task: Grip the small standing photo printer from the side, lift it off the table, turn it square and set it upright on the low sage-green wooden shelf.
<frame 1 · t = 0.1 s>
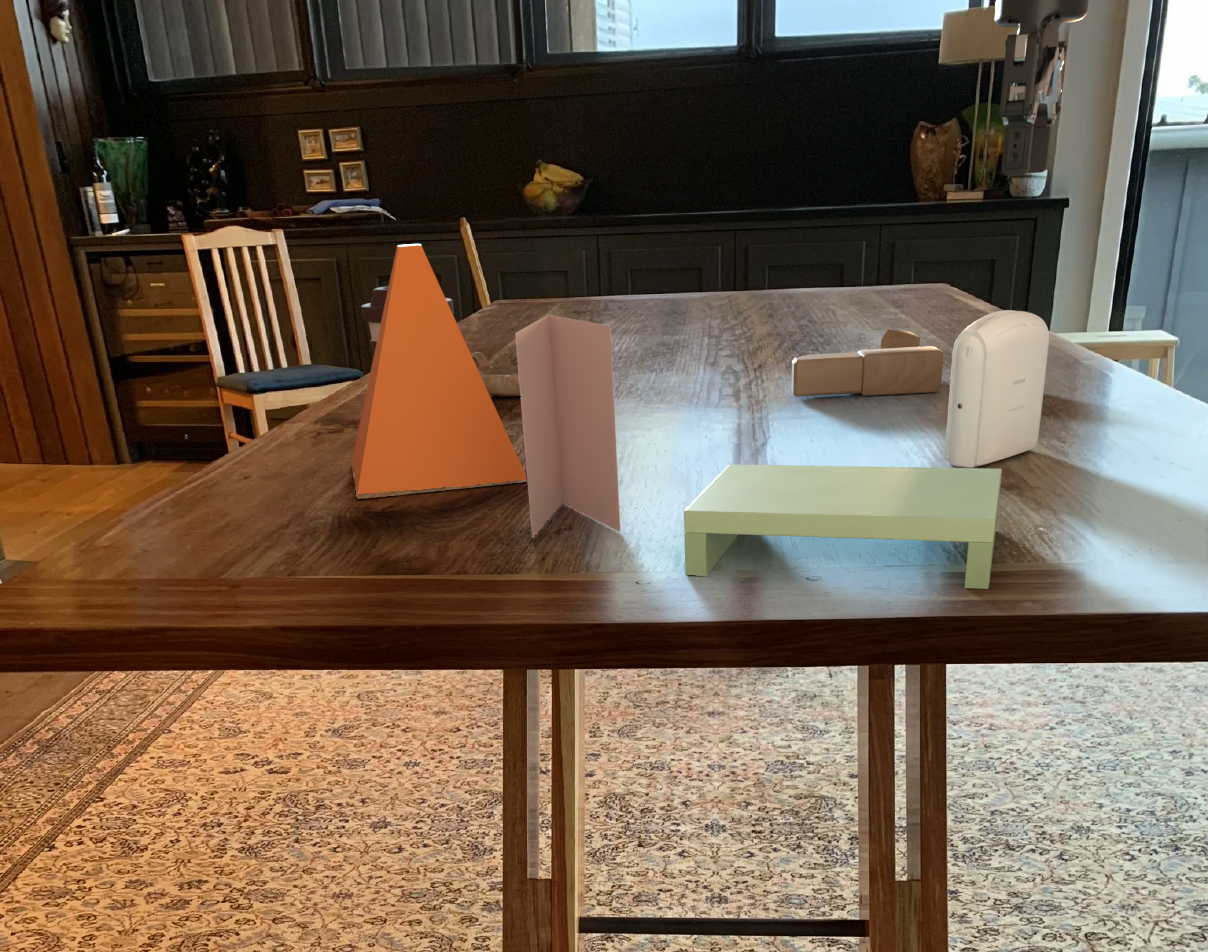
hand: (1024, 173, 108), 23 cm above the table, tool pointing down, fingers open, 8 cm apart
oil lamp: (505, 396, 154), on the table
greeting card: (582, 522, 97), on the table
photo printer: (990, 459, 109), on the table
shelf: (845, 552, 85), on the table
coffee cup: (422, 431, 136), on the table
pyramid: (436, 475, 115), on the table
mineral rock: (995, 396, 136), on the table
wooden block set: (858, 386, 147), on the table
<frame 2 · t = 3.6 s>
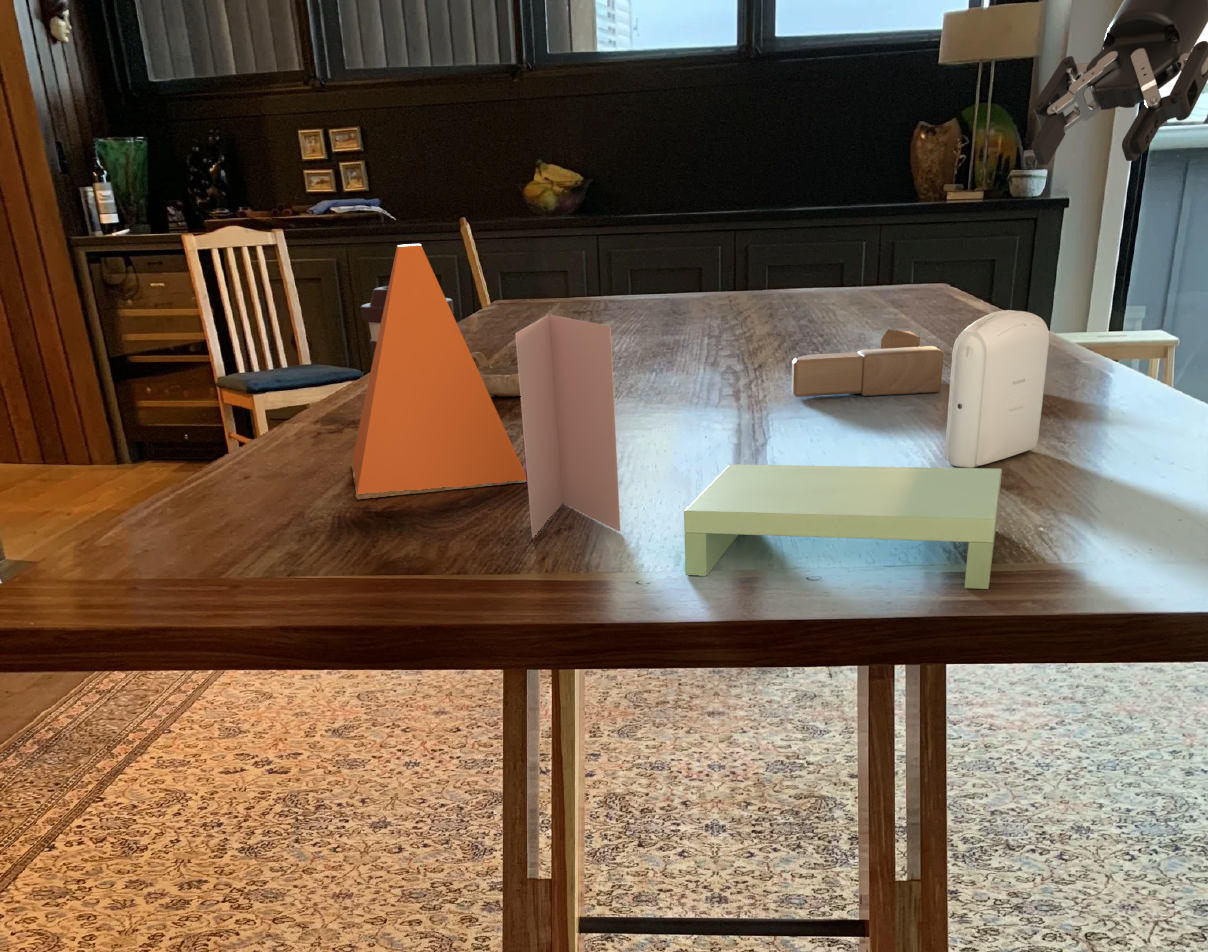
hand: (1082, 155, 107), 24 cm above the table, tool tilted 45°, fingers open, 8 cm apart
nothing on the table moved.
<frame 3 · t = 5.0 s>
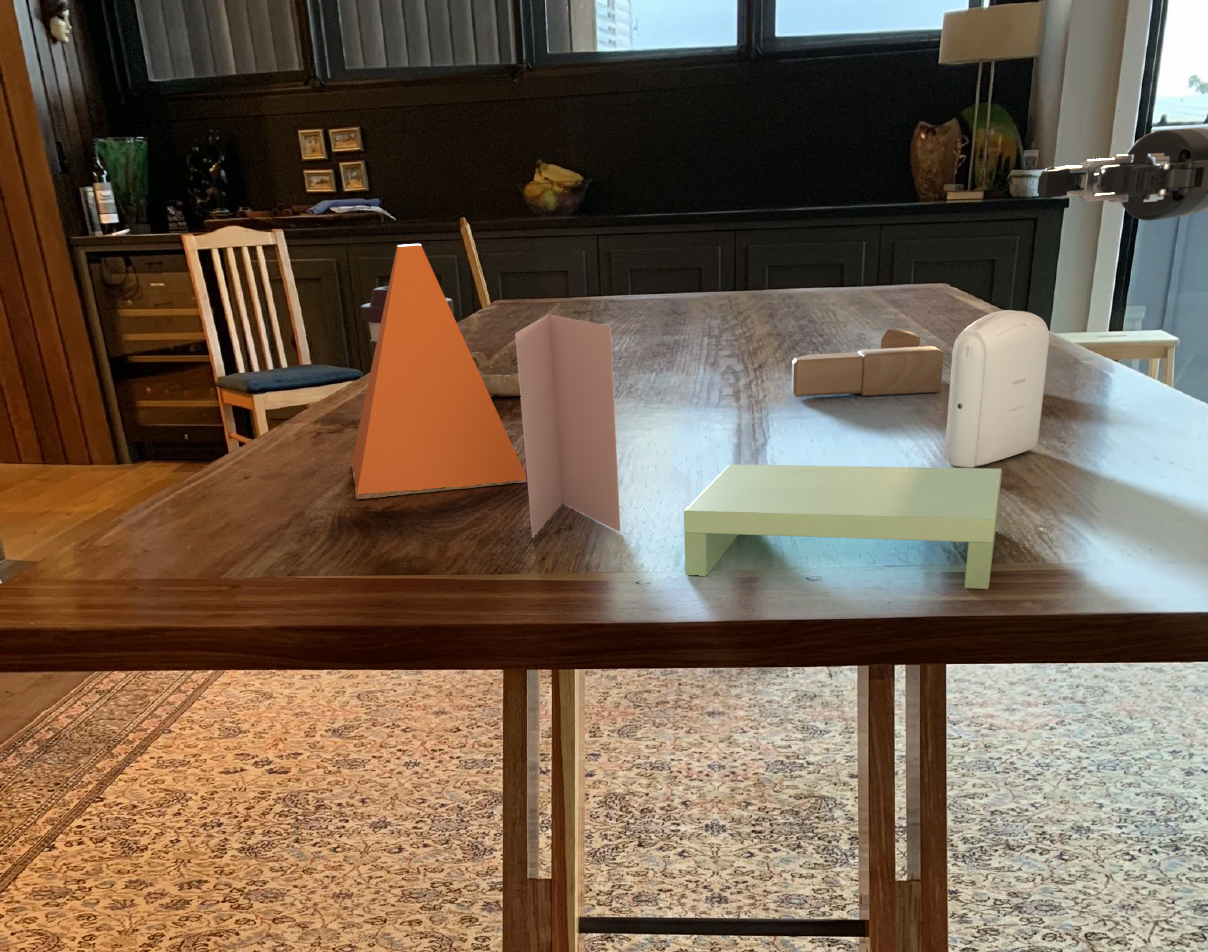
hand: (1085, 183, 105), 22 cm above the table, tool horizontal, fingers open, 8 cm apart
nothing on the table moved.
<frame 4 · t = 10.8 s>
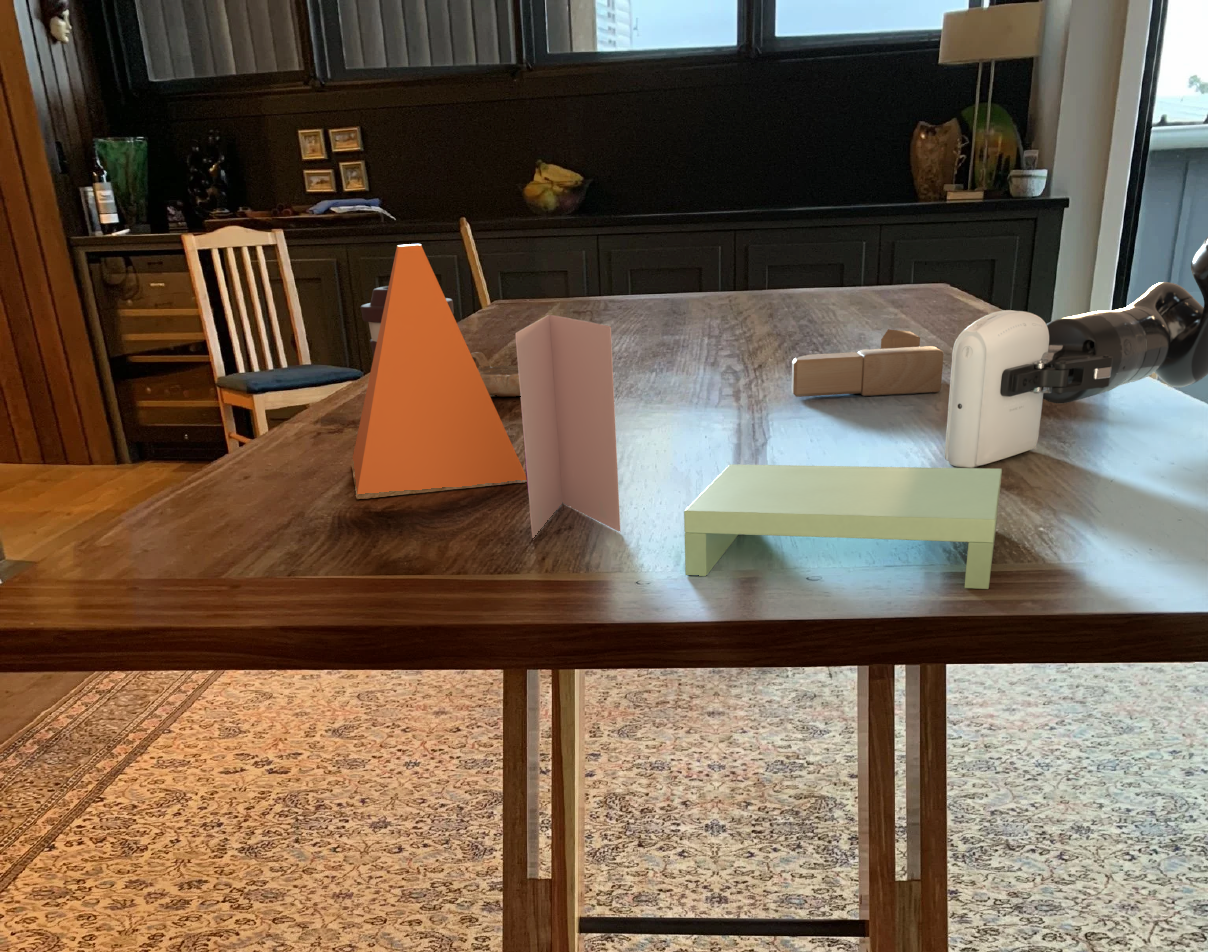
hand: (980, 381, 104), 7 cm above the table, tool horizontal, fingers closed on photo printer, 4 cm apart
photo printer: (990, 459, 109), on the table, touching gripper
everything else where it was.
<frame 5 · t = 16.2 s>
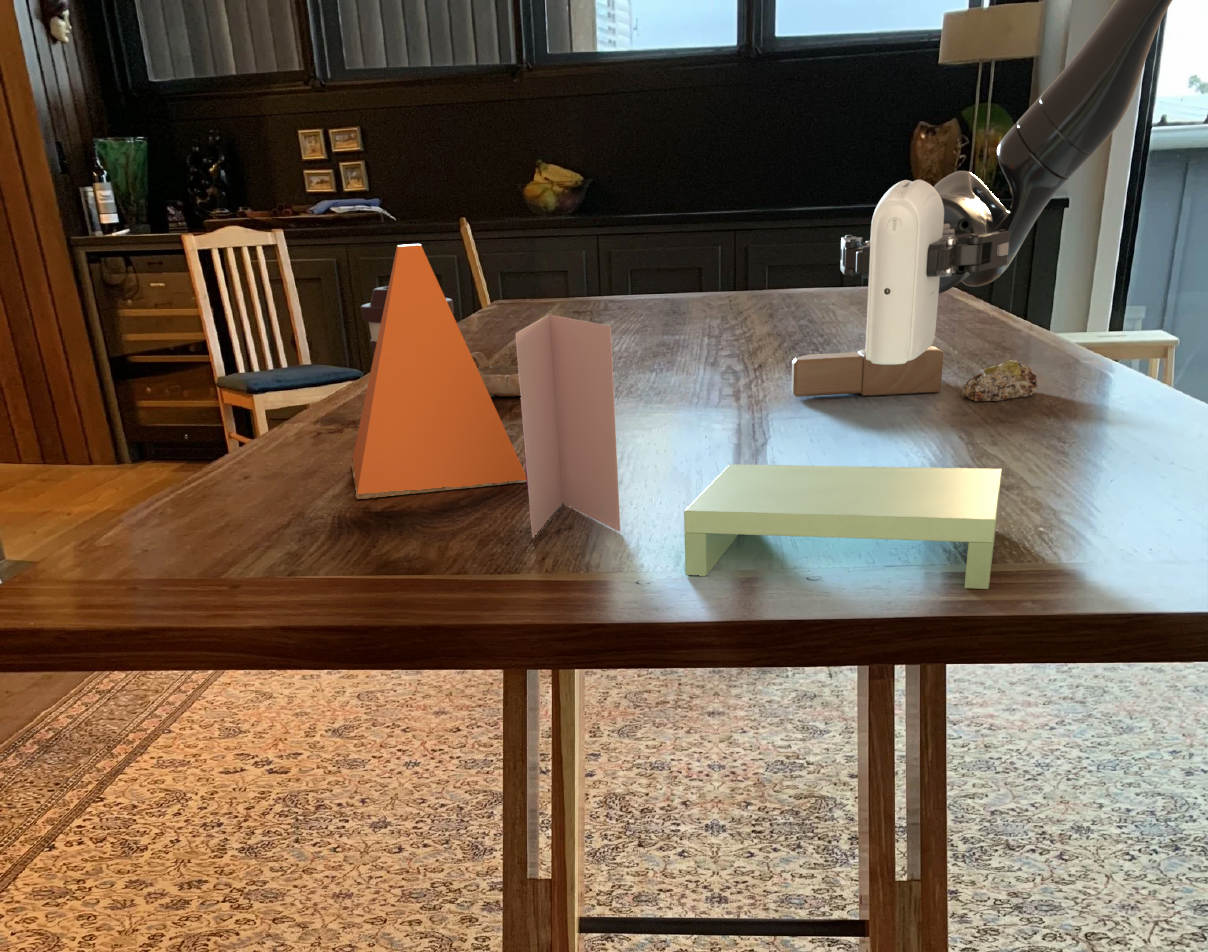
hand: (898, 261, 90), 18 cm above the table, tool horizontal, fingers closed on photo printer, 4 cm apart
photo printer: (900, 357, 95), point 11 cm above the table, touching gripper
everything else where it was.
when the fingers open (12 cm above the table, at t = 21.9 s): photo printer stays where it is, resting on shelf.
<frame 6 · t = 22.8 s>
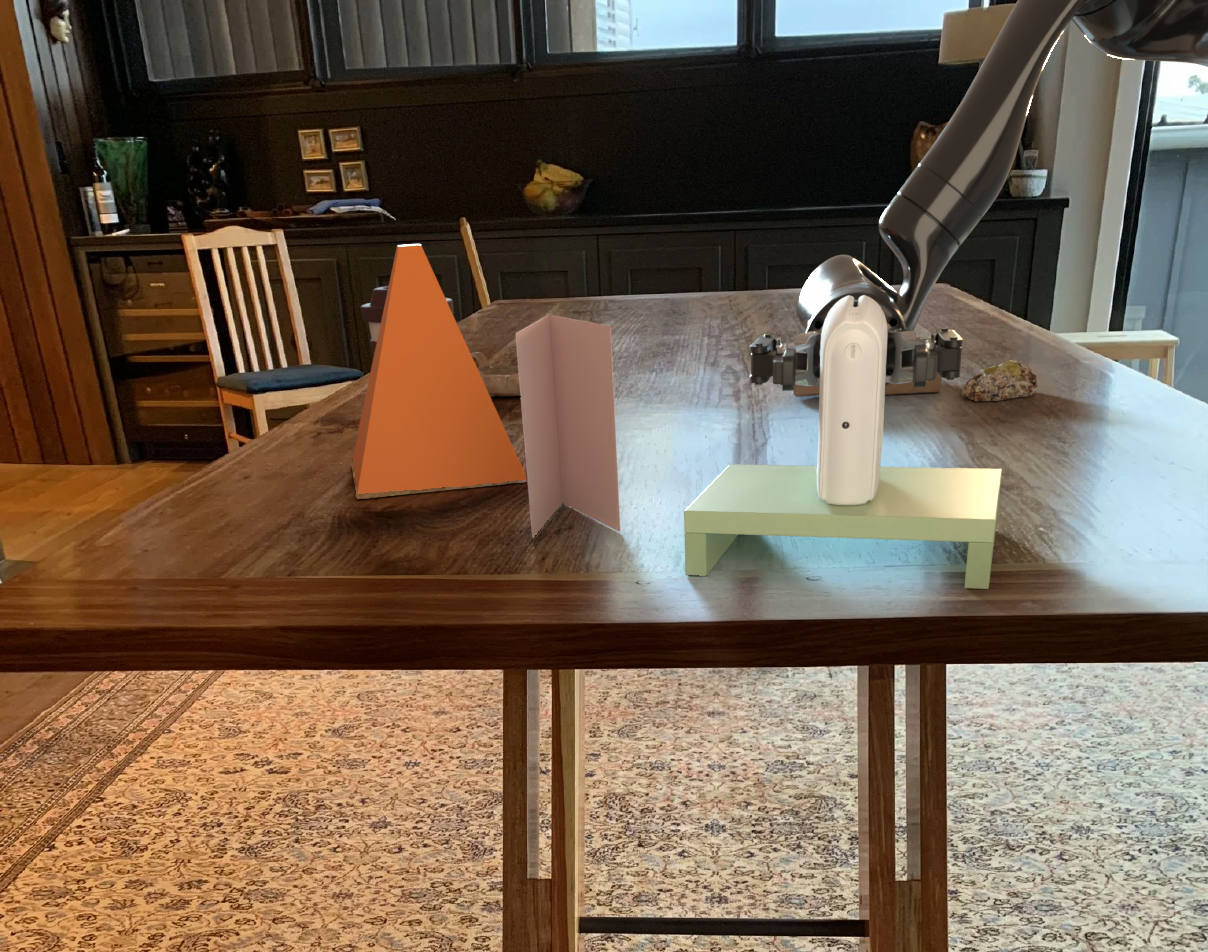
hand: (853, 372, 78), 12 cm above the table, tool horizontal, fingers open, 8 cm apart
photo printer: (847, 491, 83), point 4 cm above the table, touching shelf
everything else where it was.
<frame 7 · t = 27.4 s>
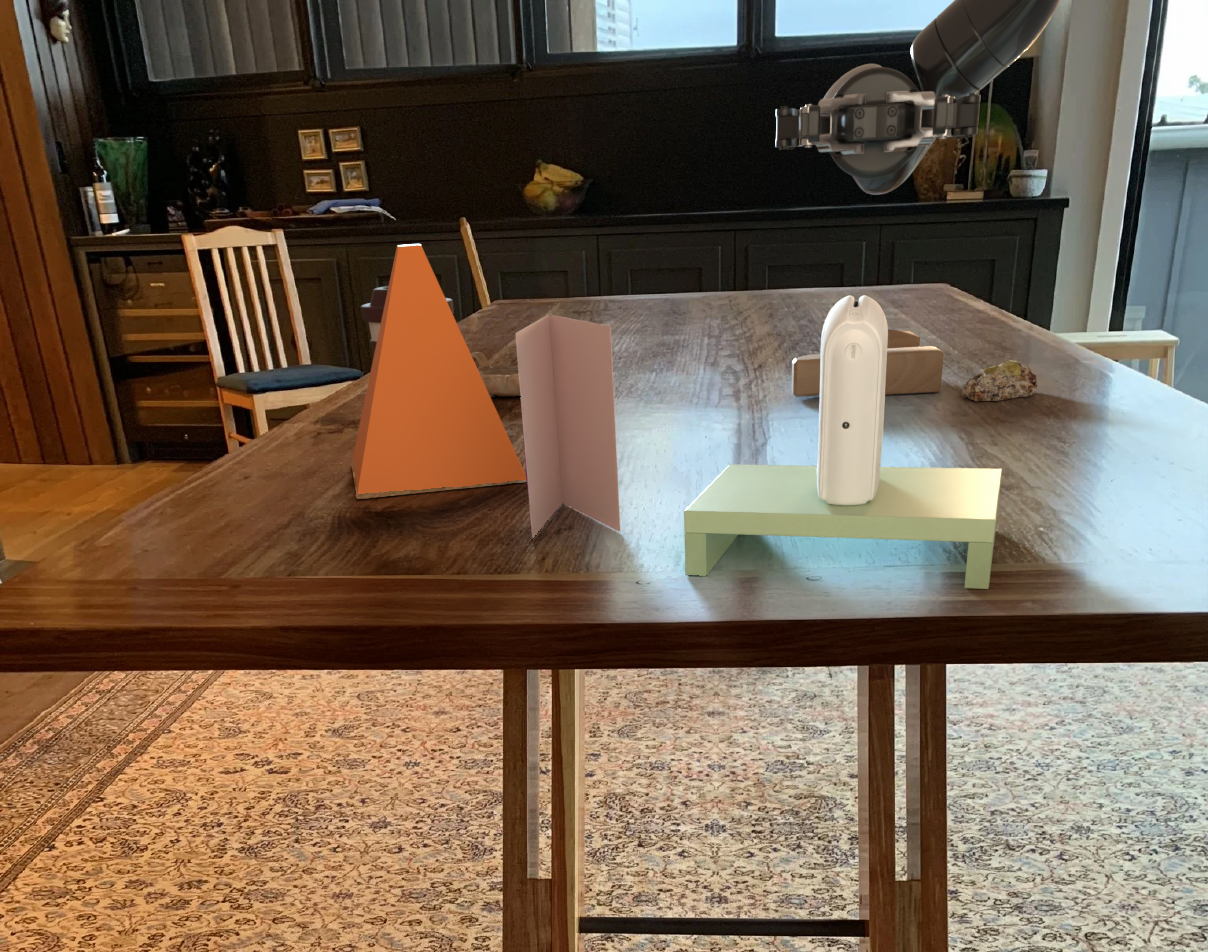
hand: (876, 119, 81), 27 cm above the table, tool horizontal, fingers open, 8 cm apart
nothing on the table moved.
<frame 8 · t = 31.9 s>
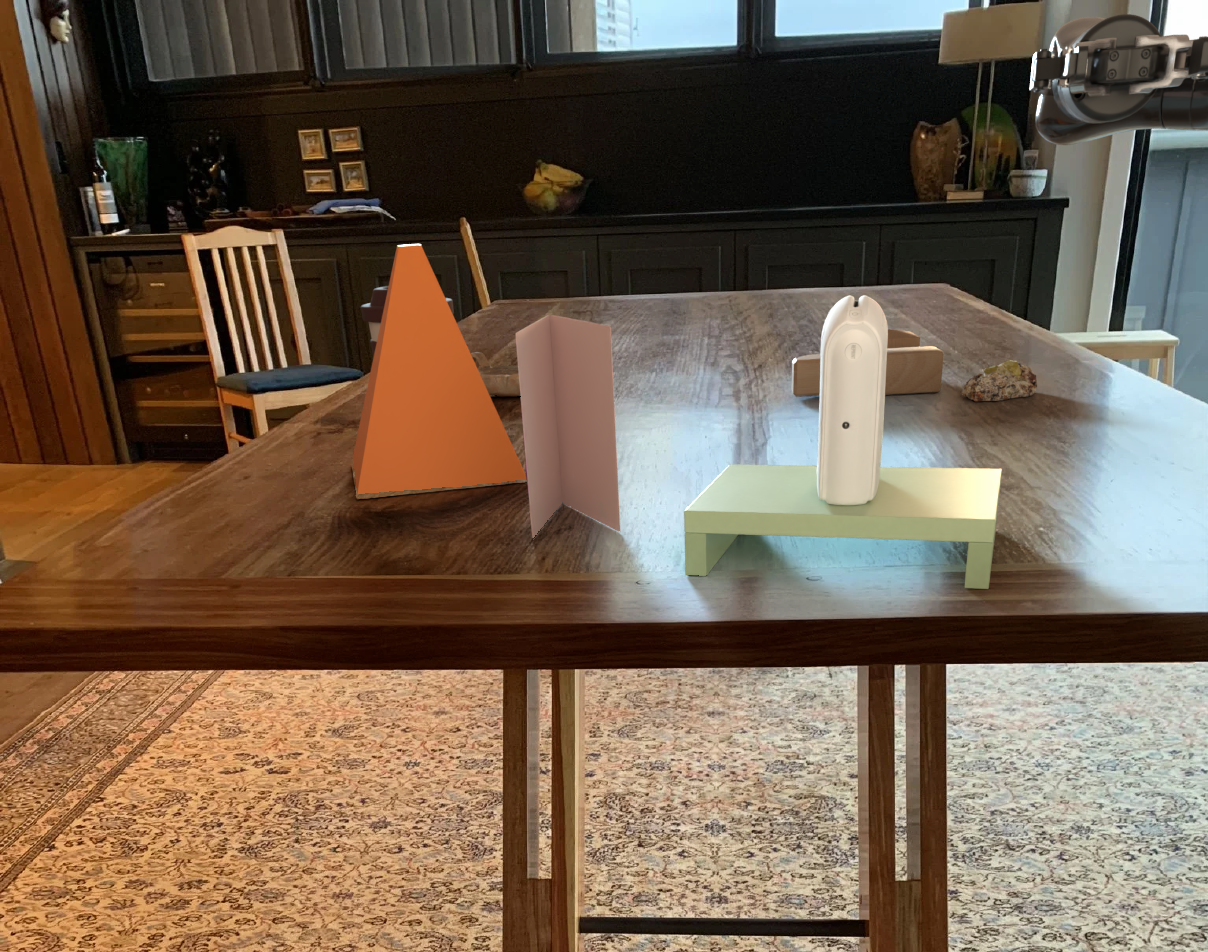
hand: (1143, 58, 87), 30 cm above the table, tool horizontal, fingers open, 8 cm apart
nothing on the table moved.
at the end: photo printer inside the target area on the shelf (0.1 cm from its centre), point 4.3 cm above the shelf's base; photo printer tilted 0°; the gripper is holding nothing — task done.
